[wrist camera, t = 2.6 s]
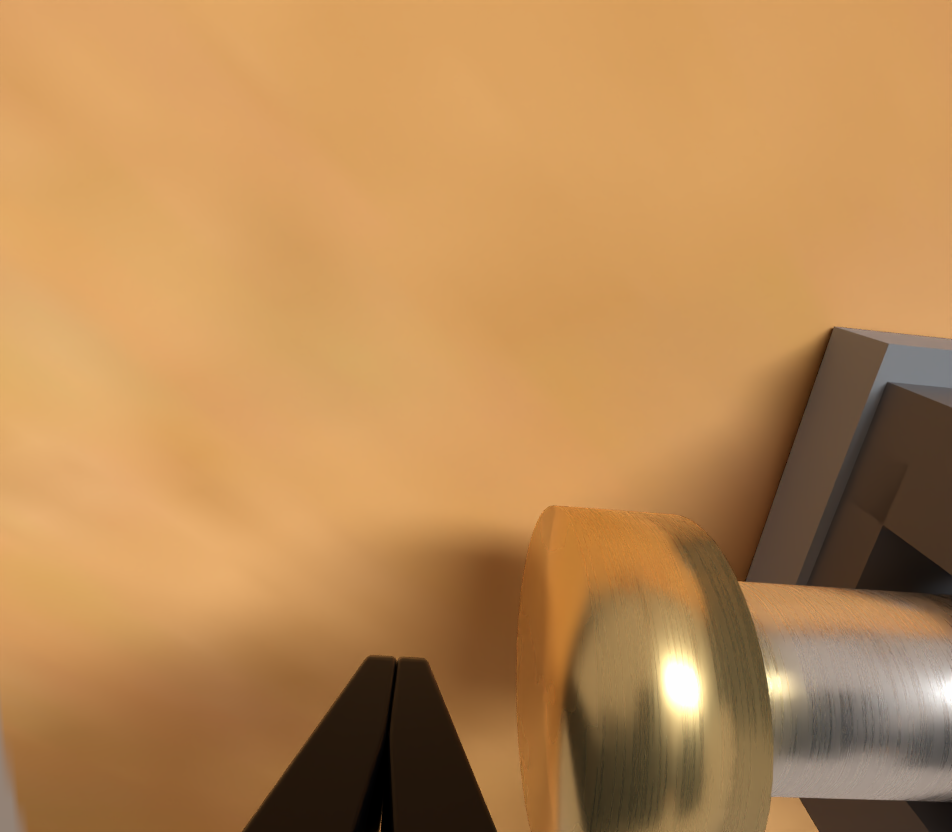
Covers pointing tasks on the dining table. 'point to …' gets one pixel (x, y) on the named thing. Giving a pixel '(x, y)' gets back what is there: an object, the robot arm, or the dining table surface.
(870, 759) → the shaft
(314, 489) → the dining table surface
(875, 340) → the bearing bracket
